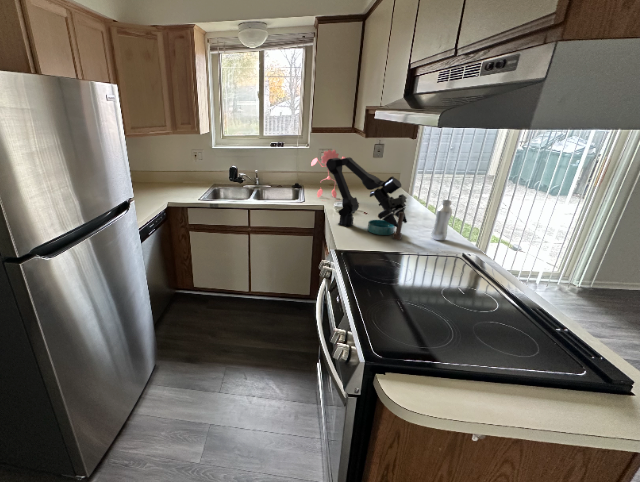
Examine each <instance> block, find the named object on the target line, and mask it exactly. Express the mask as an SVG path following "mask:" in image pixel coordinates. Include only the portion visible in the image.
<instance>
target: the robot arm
mask: <svg viewBox="0 0 640 482" xmlns="http://www.w3.org/2000/svg"><path fill="white" fill-rule="evenodd" d="M326 166H327V167H326V168H327V171H329V173H331V175H332V176H333V178H334V181H336V183H335V184H336V185H337V188H338V191H339V194H340V196H341V199H342V200H341V205H342V208H340V209H339V210H338V215H339V222H338V223H337V224H338V225H339V226H343V227H347V228H349V227H351V226H352V225H354V220H355V219H354V215H355V214H356V212H357V211H358V210H359V208H360V207H359V205H360V203H359V201H358V198H357V197H353V196H352V194H351V191H350V189H349V186H348V183H347V181H346V179H345V176H344V174H343V167H344V166H345V167H346V168H347V169H348V170H350V171H351V172H352V173H353V174H354V175H355V176H356V177H357V178H359V180H360V181H361V183H362V185H363V186H364V187H365V189H366V190H369V191H370V193H369V198H372V197H374V198H376V200H377V202H378V207H382V211H381V212H379V213H378V214H377V217H378V219H379V220H384V221H386V222H388V223H390V224H392V225H394V226H395V228H397V227H399V225H398V220H396V218H398V217H399V212H404V217H403V223H404V224H406V223H408V220H407V217H406V214H405V210H406V207H407V205H406V204H405V203H407V199H408V197H407V196H406V195H405V194H399V195H398V197H395V198H394V197H393V196H391V195H392V194H393V193H395V192H396V191H397V190H399V189H400V188H402V183H401V181H400V180H398V179H397V178H395V177H394V176H393V175H392V176H390V177H389V178H388V179H387V180H381V179H380V178H379V177H378V176H376V175H374V174H372V173H370V172H368V171H366V169H364V168H363V167H362V166H361V165H359V164H358V163H357V162H356V161H355V160H353V158H352V157H350V156H349V157H346V158H344V159H342V158H340V157H338V158H332V159H329V160H328V161H327V163H326ZM389 194H390V195H389Z"/></svg>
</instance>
